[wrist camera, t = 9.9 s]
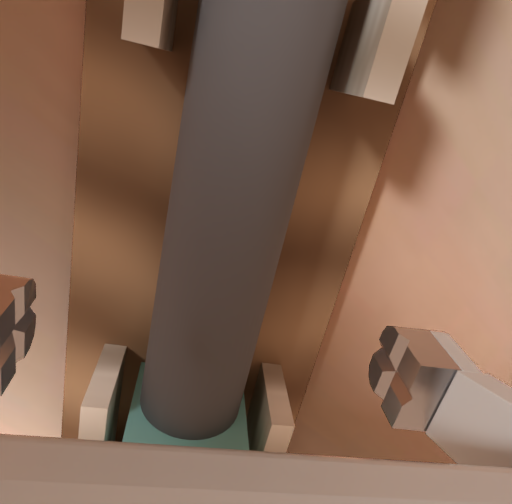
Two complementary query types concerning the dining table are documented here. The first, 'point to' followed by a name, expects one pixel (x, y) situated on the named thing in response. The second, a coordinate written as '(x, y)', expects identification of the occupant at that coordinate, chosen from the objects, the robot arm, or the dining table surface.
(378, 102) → the wooden cradle
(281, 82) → the grey and teal rod
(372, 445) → the dining table surface
